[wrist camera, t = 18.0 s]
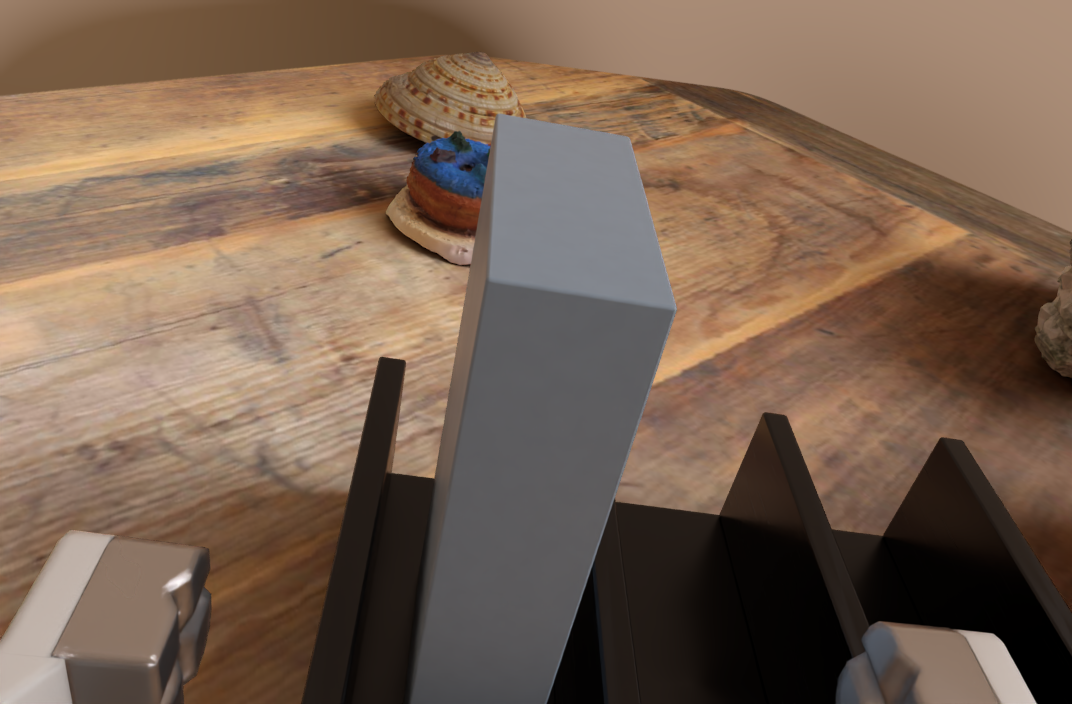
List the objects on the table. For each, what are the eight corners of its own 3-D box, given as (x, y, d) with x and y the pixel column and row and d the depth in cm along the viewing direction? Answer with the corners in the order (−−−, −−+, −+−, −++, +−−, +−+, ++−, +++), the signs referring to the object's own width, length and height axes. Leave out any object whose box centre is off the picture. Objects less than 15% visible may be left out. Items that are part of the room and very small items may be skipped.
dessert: (351, 178, 40) (435, 78, 39) (441, 237, 46) (518, 150, 45) (425, 277, 36) (523, 167, 35) (517, 331, 41) (604, 236, 40)
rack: (1097, 1018, 18) (1258, 904, 15) (266, 969, 16) (272, 826, 13) (889, 560, 27) (963, 439, 25) (364, 494, 26) (379, 355, 23)
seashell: (392, 53, 52) (523, 29, 50) (418, 145, 55) (543, 126, 53) (341, 92, 45) (490, 66, 43) (374, 195, 48) (515, 176, 46)
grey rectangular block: (392, 789, 18) (485, 278, 11) (421, 556, 23) (496, 108, 16) (515, 800, 18) (678, 309, 11) (516, 568, 23) (629, 133, 16)
